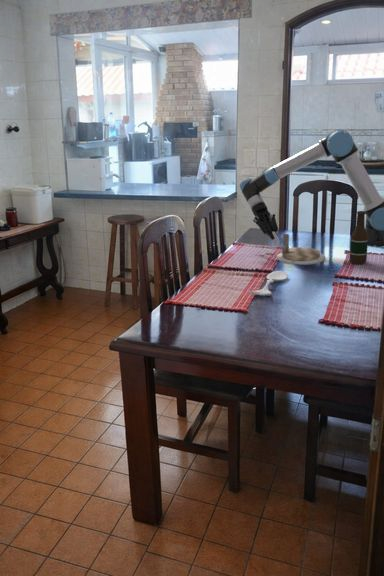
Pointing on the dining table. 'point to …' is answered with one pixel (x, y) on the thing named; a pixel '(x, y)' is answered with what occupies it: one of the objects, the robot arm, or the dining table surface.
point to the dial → (298, 251)
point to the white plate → (301, 261)
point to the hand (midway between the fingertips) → (278, 243)
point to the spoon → (271, 278)
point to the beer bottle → (359, 241)
